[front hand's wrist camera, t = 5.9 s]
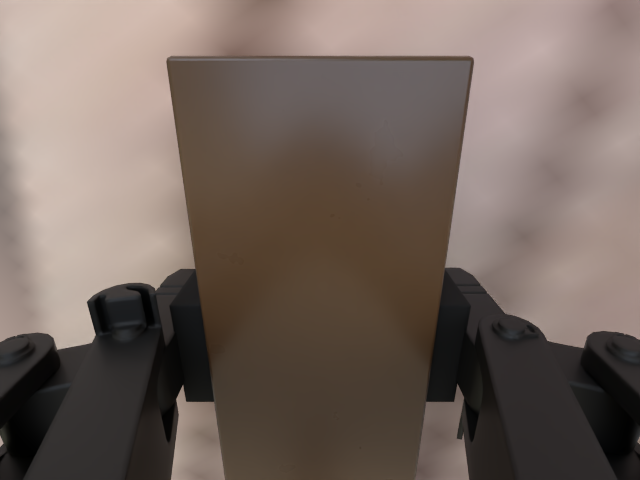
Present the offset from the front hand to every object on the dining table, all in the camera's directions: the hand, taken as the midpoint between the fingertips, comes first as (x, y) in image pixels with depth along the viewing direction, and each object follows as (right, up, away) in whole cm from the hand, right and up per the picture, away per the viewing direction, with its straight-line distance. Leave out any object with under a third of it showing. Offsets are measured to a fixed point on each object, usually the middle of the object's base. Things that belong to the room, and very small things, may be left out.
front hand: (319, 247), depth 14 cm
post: (0, -27, +11) cm, 29 cm away
